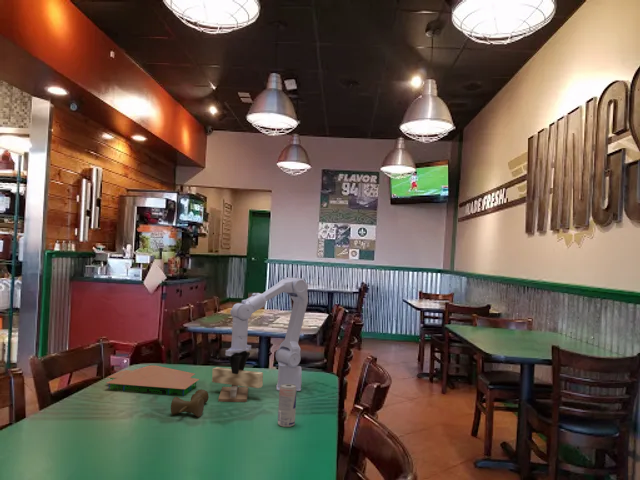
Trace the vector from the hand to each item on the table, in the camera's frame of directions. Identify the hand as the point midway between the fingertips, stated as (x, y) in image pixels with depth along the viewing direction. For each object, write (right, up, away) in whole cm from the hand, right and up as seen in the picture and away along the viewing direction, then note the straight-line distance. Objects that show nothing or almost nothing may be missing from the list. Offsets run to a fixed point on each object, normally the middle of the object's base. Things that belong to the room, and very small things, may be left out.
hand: (237, 372), depth 182 cm
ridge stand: (-1, -8, 0) cm, 9 cm away
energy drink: (+20, -9, -29) cm, 36 cm away
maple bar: (0, -4, 0) cm, 4 cm away
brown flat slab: (-34, -8, +8) cm, 35 cm away
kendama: (-12, -8, -21) cm, 25 cm away
